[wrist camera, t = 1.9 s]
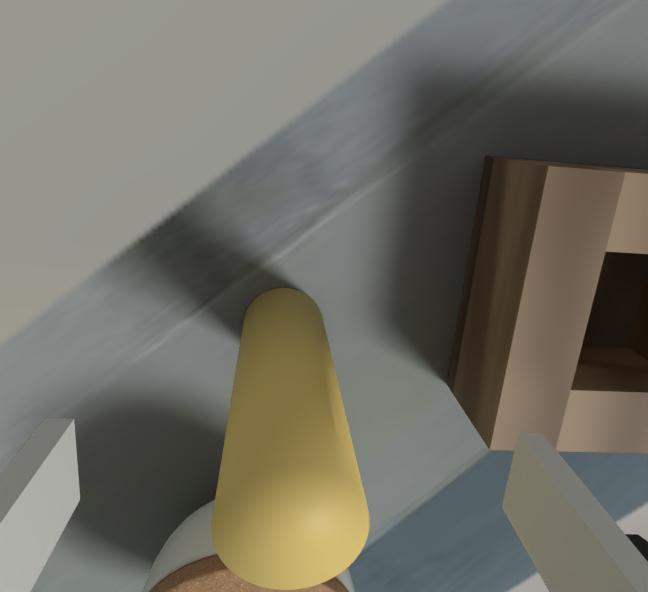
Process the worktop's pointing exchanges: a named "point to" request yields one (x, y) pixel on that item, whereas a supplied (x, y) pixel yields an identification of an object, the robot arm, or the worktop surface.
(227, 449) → the dowel
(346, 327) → the worktop surface
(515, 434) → the socket block
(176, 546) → the lidded jar
